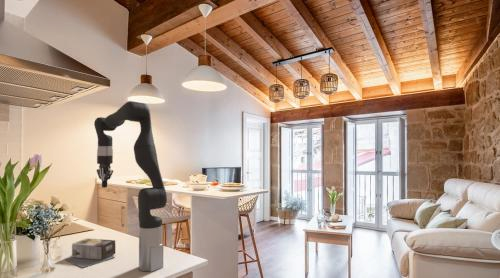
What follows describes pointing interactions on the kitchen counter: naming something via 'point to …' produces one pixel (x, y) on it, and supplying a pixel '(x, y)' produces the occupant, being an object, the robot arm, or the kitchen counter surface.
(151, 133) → the robot arm
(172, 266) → the kitchen counter surface
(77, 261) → the mat
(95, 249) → the coffee box
